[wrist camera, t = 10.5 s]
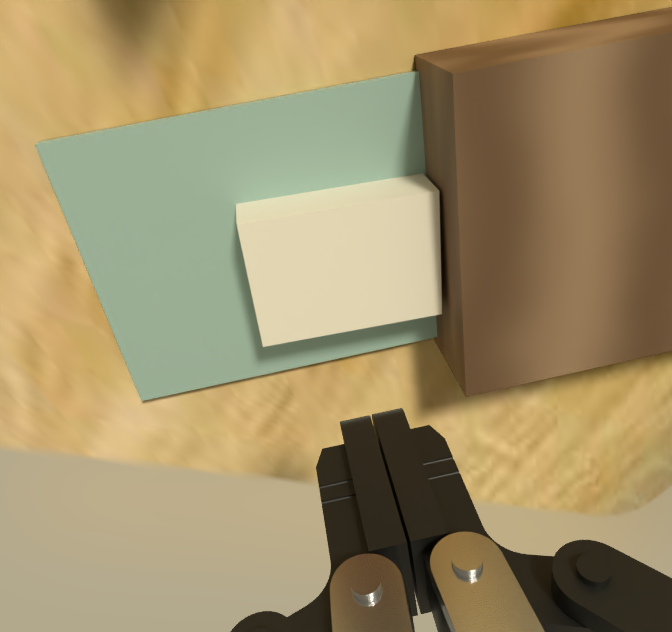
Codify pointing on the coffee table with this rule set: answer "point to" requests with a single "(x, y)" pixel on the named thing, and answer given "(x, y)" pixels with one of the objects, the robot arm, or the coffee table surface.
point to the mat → (222, 221)
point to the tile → (343, 257)
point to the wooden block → (552, 198)
